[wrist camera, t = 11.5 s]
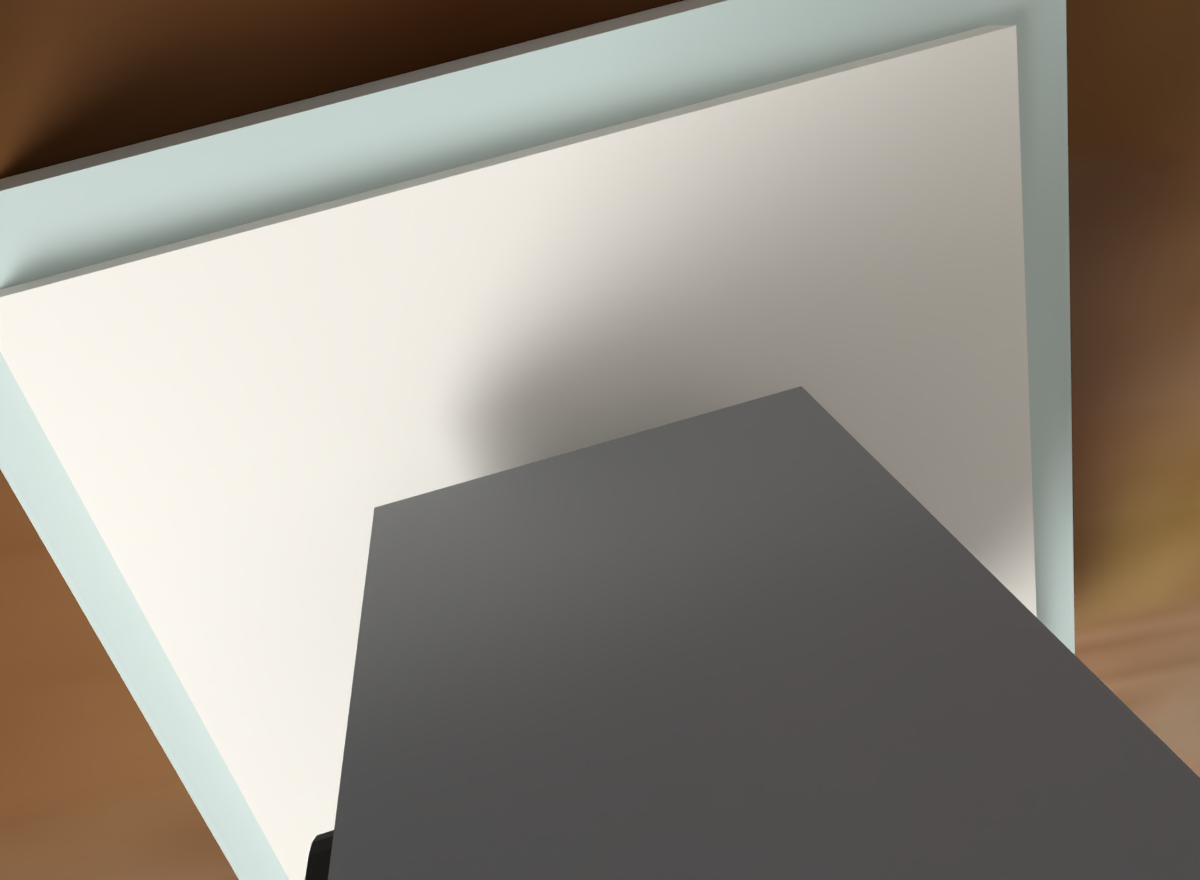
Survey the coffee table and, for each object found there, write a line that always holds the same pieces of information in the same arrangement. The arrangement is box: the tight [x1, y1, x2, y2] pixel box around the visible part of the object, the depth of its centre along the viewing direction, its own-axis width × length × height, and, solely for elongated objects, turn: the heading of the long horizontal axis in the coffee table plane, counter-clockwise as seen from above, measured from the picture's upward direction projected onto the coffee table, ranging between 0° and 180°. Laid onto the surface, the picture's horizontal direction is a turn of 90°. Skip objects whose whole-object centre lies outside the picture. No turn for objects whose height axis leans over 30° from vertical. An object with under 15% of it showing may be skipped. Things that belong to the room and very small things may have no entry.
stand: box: [0, 0, 1075, 880], centre depth 15 cm, size 14×14×4 cm
